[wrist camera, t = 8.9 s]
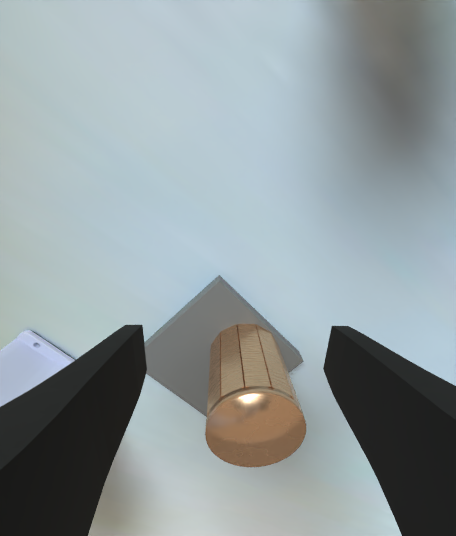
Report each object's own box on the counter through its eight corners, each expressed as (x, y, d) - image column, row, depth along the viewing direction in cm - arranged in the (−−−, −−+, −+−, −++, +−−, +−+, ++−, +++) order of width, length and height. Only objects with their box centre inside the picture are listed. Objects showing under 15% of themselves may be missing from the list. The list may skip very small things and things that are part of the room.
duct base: (134, 351, 20) (107, 405, 15) (219, 275, 18) (219, 309, 13) (217, 412, 23) (216, 474, 18) (299, 351, 21) (323, 403, 16)
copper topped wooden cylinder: (209, 379, 20) (205, 467, 14) (210, 322, 18) (205, 395, 12) (274, 379, 20) (298, 466, 14) (281, 323, 18) (313, 395, 12)
